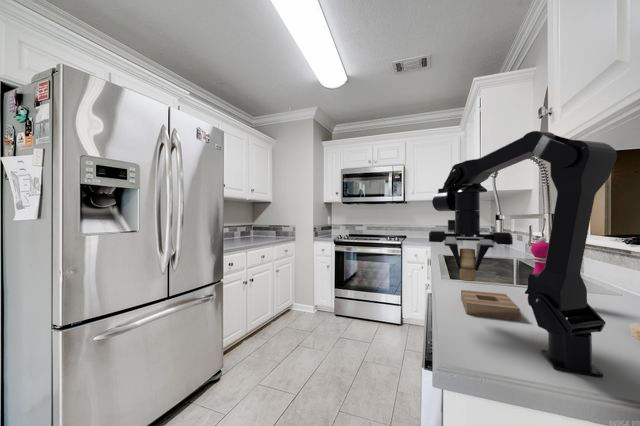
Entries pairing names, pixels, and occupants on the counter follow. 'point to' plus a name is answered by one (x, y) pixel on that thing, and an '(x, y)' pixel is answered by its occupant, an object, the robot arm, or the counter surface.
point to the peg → (467, 264)
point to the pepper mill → (539, 254)
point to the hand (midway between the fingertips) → (467, 270)
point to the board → (489, 304)
